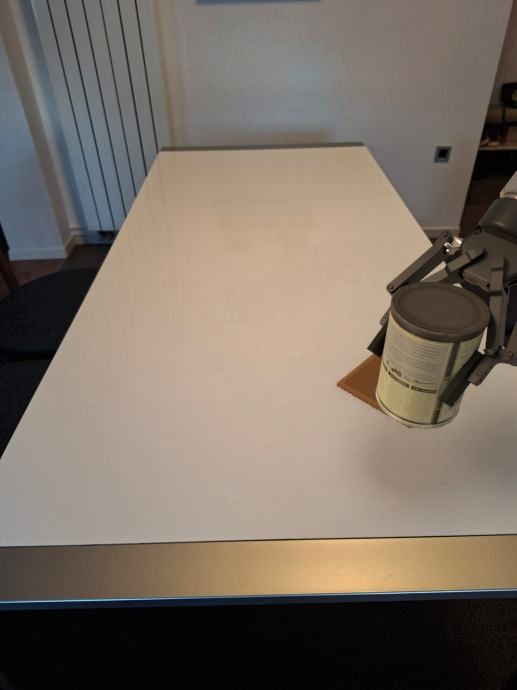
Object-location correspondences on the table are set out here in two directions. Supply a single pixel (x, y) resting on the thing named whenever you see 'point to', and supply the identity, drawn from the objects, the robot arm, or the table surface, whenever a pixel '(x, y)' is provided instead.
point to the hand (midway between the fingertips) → (407, 376)
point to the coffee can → (428, 350)
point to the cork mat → (364, 381)
